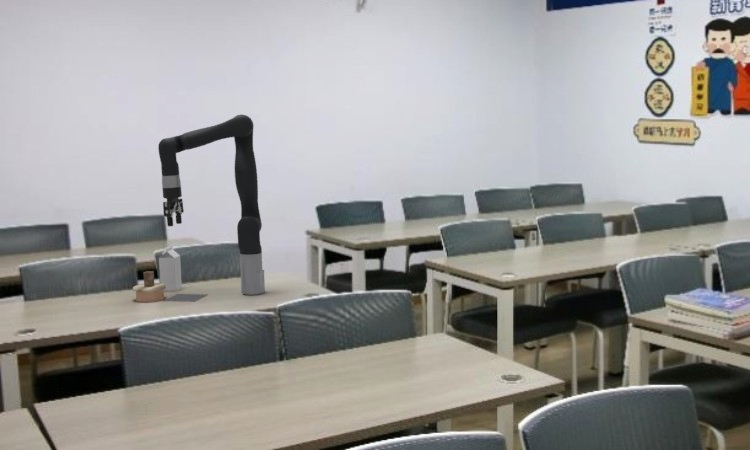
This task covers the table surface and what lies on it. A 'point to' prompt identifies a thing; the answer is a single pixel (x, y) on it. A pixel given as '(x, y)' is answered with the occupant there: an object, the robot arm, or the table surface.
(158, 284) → the lid
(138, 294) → the bowl
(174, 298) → the mat
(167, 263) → the milk carton
